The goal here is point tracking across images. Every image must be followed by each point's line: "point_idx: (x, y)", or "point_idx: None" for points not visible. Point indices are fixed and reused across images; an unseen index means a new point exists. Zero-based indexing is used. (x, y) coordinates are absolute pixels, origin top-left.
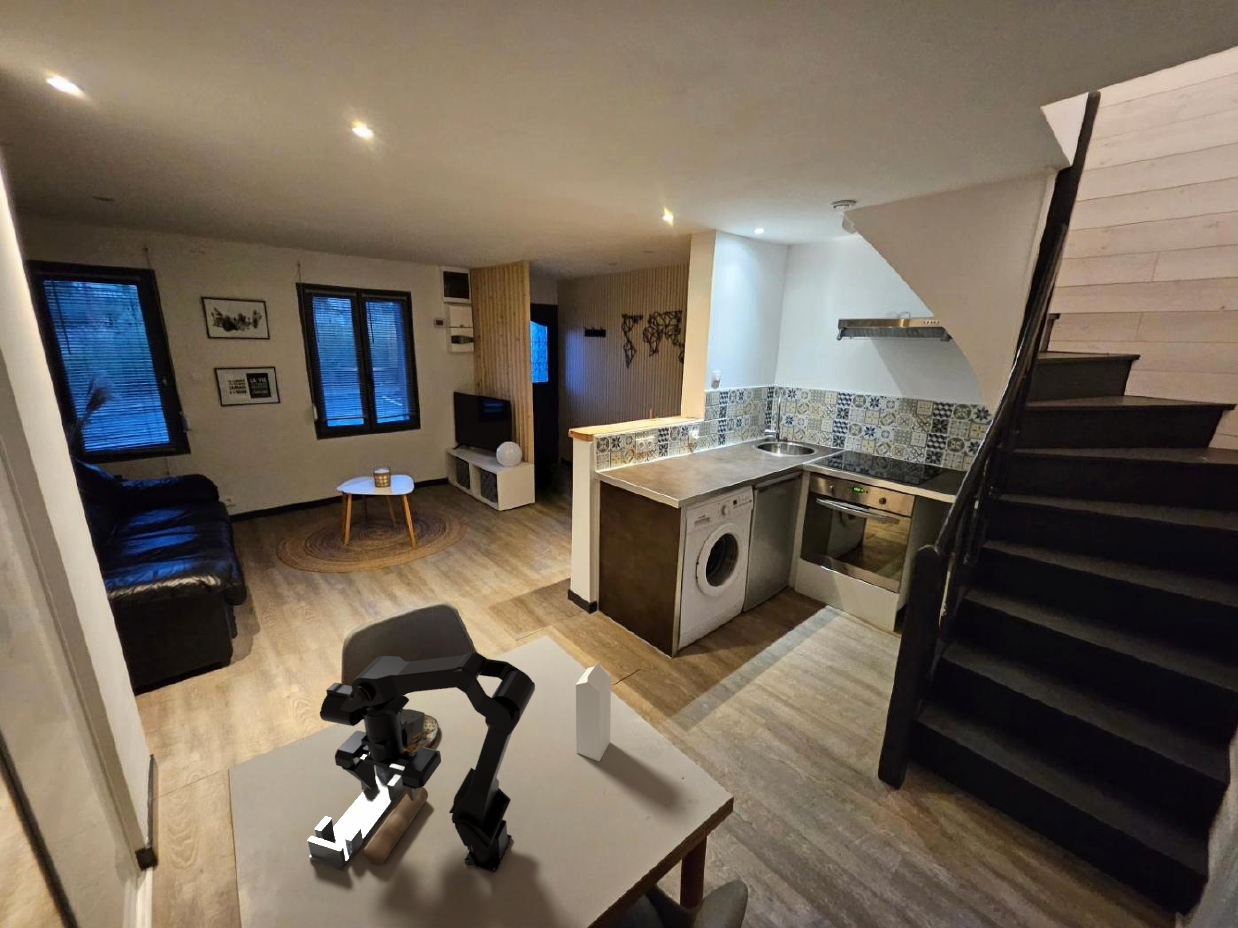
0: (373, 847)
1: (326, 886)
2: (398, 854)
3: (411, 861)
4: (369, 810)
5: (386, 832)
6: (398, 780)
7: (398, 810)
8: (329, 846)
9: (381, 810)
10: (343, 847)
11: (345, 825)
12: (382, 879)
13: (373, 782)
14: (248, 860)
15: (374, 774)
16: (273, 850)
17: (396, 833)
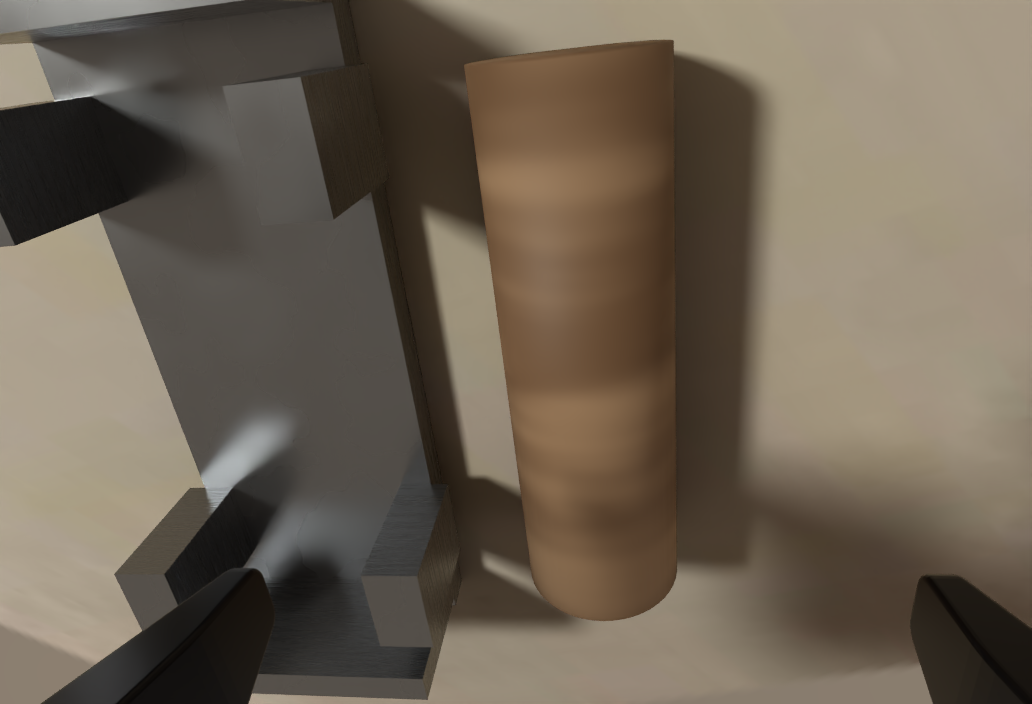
0: (605, 613)
1: (453, 637)
2: (707, 446)
3: (823, 456)
4: (291, 319)
5: (614, 522)
6: (319, 128)
7: (568, 361)
8: (341, 689)
9: (370, 289)
10: (425, 673)
11: (250, 441)
12: (708, 563)
13: (236, 642)
14: (28, 632)
15: (156, 690)
16: (64, 584)
17: (669, 464)
